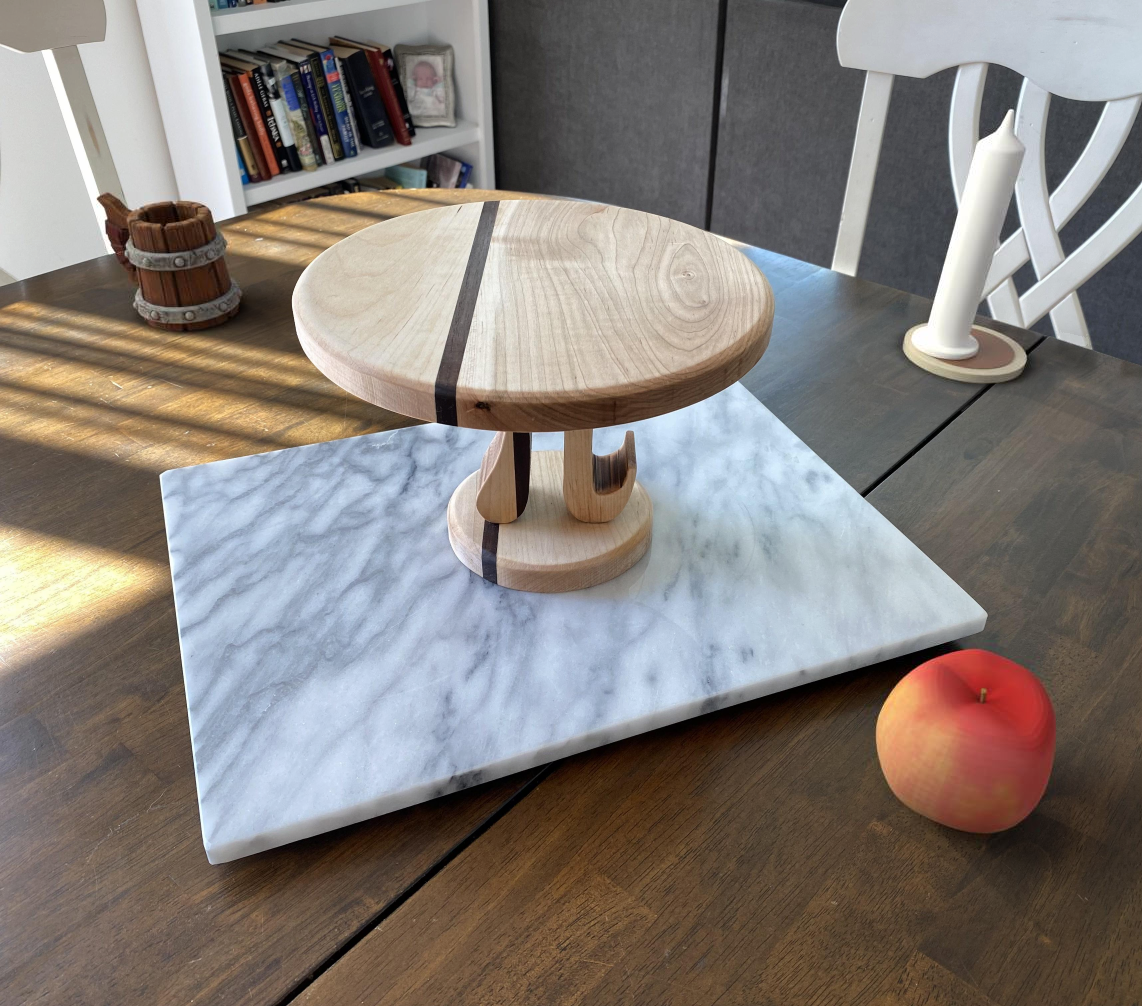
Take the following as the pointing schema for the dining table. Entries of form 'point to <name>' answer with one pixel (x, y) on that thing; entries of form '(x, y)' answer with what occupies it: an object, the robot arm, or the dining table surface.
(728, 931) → the dining table surface
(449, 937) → the dining table surface
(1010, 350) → the coaster
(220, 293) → the mug
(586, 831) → the dining table surface
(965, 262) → the candle
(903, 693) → the apple
